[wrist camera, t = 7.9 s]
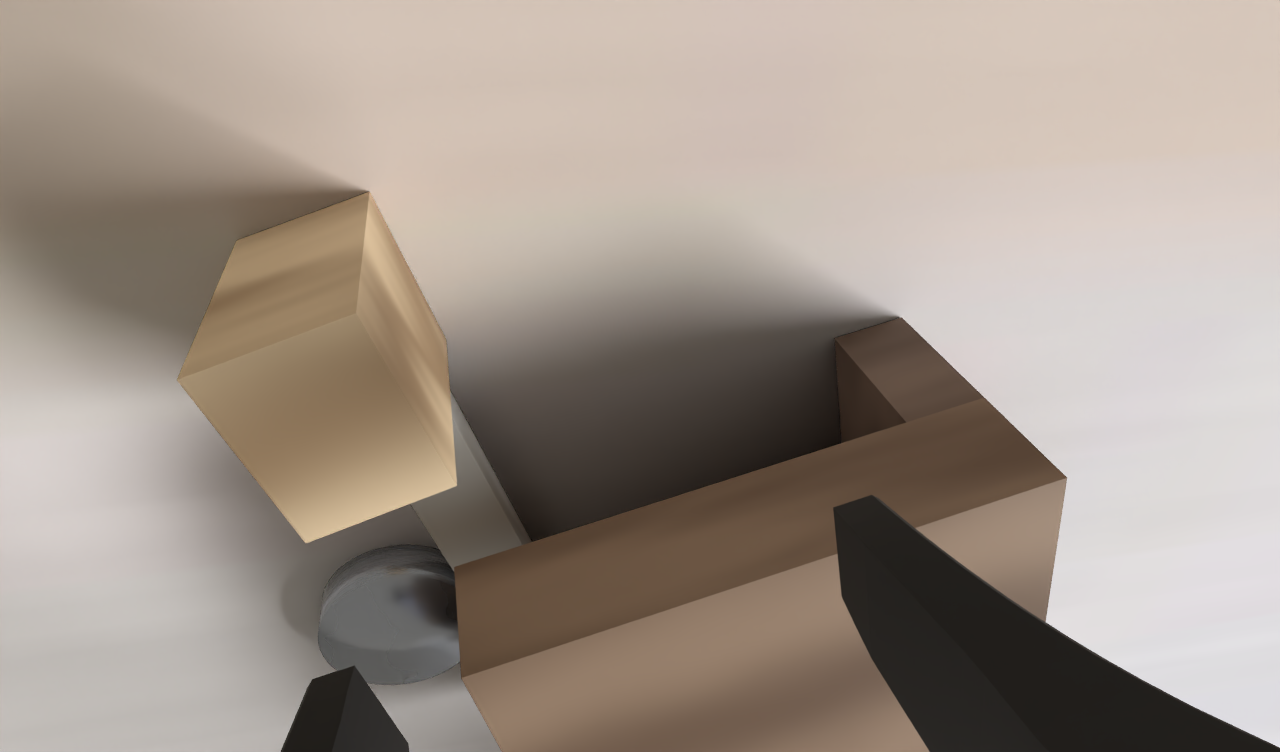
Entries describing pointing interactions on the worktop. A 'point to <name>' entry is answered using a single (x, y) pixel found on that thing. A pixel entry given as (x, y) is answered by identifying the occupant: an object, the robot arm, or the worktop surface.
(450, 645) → the disc
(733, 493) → the cabinet
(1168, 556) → the worktop surface
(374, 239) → the wooden building block
